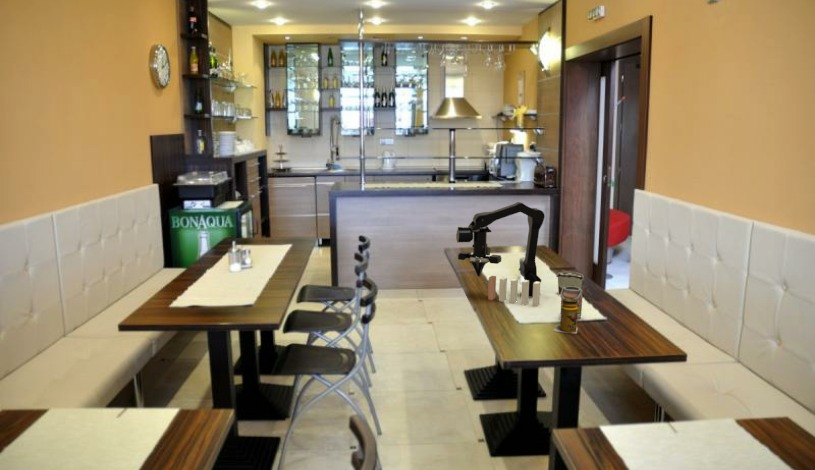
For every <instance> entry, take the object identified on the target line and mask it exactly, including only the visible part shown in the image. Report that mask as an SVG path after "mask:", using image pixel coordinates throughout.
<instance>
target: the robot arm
mask: <svg viewBox="0 0 815 470" xmlns="http://www.w3.org/2000/svg"><path fill="white" fill-rule="evenodd" d="M518 213H522V214H523V215H526V216H527V223H528V234H527V242H526V250H525V257H524V259H523V261H519V268H518V271H519V272H520V273H519V274H520V275H521V276H522V278H523V281H524V280H529V295H528V298H533V283H534V282H536V281H538V282H540V284H542V279H541V278H540V277H539V276H538V274H537V272H538V270H537V264H536V256H537V248H538V242H539V234H540V229H541V227H542V226H543V223H544V220H545V213H544V211H542V210H541V209H539V208H535V207H530V206H528V205H527V204H525V203H523V202H520V201H517V202H515V203H512V204H510V205H507V206H505V207H501V208H498V209H495V210H492V211H483V212H478V213H475V214H474V215H473V217H472V220H471V222H470V223H469V225H468V226H467V227H466V226H465V227H464V226H458V227H457V229H456V236H455V237H456V243H470V242H471V241H473V244H471V245H472V248H473V249H472V254H471V252H470V251H465V250H464V251H461V252H459V253H458V254H457V259H458V260H460V261H465V260H466V259H470V260H469V263H471V265H472V266H473V268H474V270H475V272H476V273H475V274H476V275H477V277H481V276H482V272H483V270H484V268H485V265H486V264H487V263H490V264H496V265H497V264H499V263H501V262H502V256H501V255H500V254H491V249H492V248H491V247H489V246H488V243H487V237H488V236H487V233H492V230H491V229H490V228H489V226H490V225H491V224H493V223H494V222H496V221H498V220H500V219H504V218H506V217H509V216H512V215H515V214H518Z"/></svg>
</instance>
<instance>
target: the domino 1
mask: <svg viewBox="0 0 815 470" xmlns="http://www.w3.org/2000/svg"><path fill="white" fill-rule="evenodd" d="M487 287H488V289H487V290H488V291H487V292H488V293H487V294H488V295H487V299H488V300H489V301H493V300H495V299H496V296H497V295H496V293H497V292H496V291H497V290H496V289H497V275H491V276H489V277H488V286H487Z"/></svg>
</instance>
